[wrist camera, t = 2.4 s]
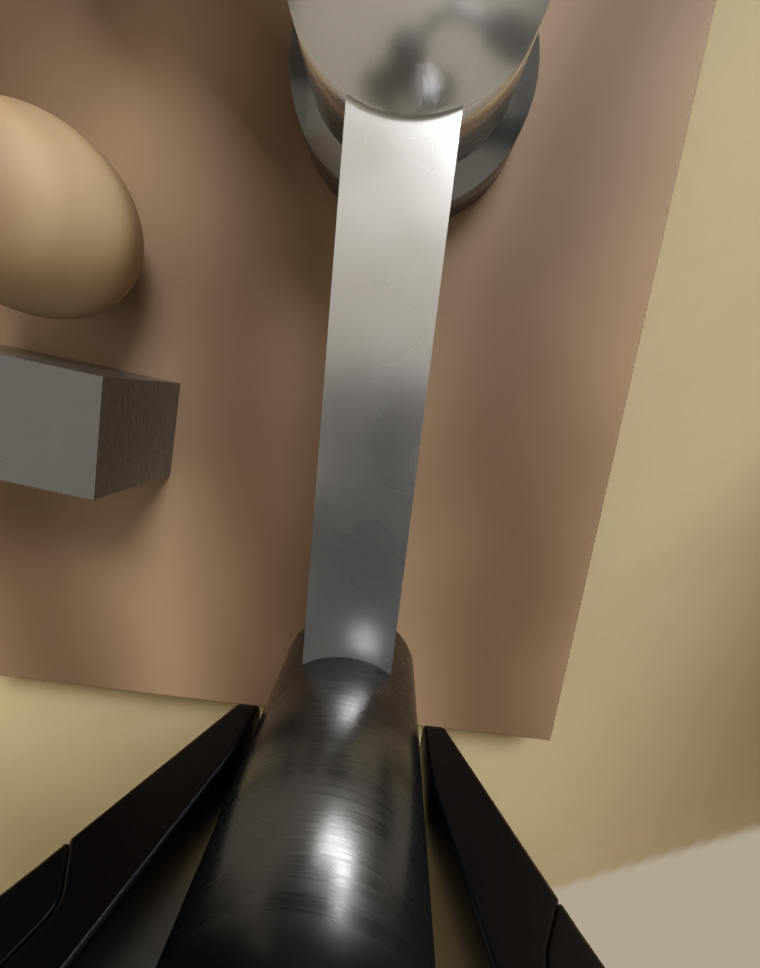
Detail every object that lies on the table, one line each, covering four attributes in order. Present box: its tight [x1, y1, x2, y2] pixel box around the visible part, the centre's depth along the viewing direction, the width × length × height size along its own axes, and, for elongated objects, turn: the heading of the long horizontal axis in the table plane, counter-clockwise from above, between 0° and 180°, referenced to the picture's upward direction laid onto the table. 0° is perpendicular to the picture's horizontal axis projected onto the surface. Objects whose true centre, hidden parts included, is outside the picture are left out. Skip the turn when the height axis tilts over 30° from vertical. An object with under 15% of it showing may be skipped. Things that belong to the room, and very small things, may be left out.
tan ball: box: [0, 95, 144, 319], centre depth 8 cm, size 4×4×4 cm
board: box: [0, 0, 716, 740], centre depth 10 cm, size 17×25×1 cm
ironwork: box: [0, 25, 540, 500], centre depth 8 cm, size 15×5×3 cm, turn 129°
